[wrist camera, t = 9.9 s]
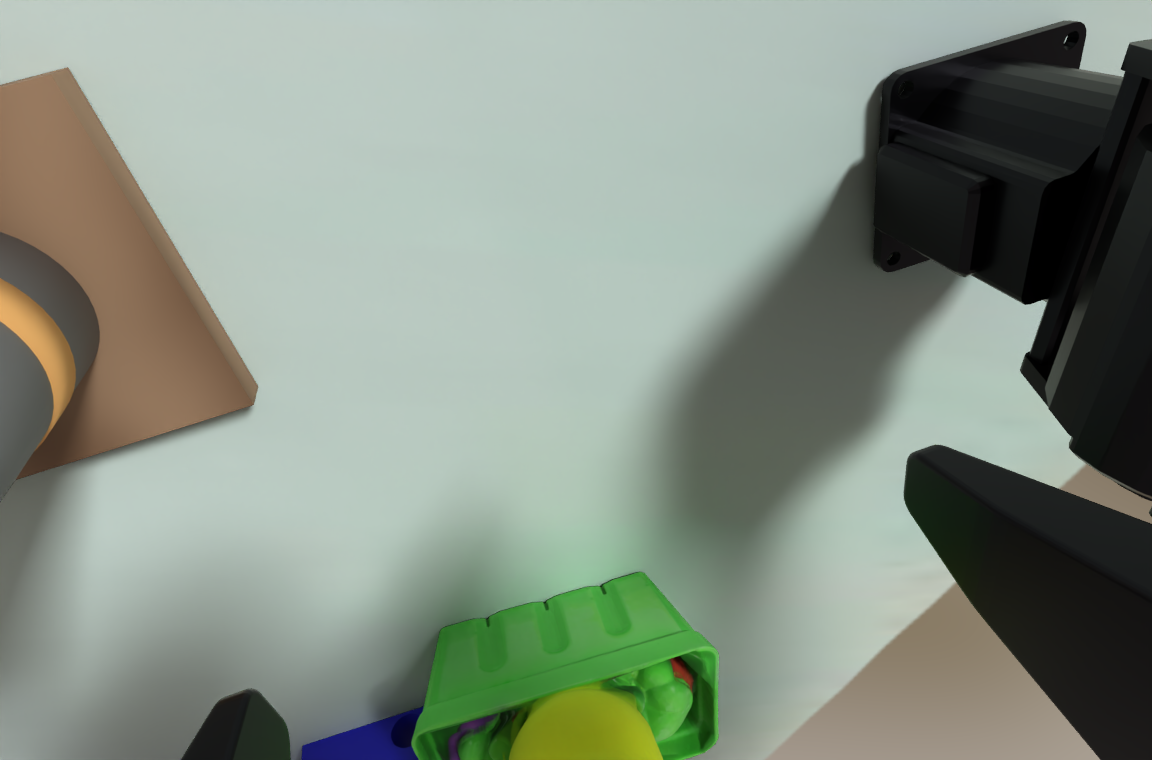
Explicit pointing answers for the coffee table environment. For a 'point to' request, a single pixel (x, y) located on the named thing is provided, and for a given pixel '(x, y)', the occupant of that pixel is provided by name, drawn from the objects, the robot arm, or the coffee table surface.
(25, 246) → the orange-banded grey cylinder
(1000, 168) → the robot arm
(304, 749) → the cable clip
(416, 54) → the coffee table surface
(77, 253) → the walnut pad
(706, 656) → the fruit basket
